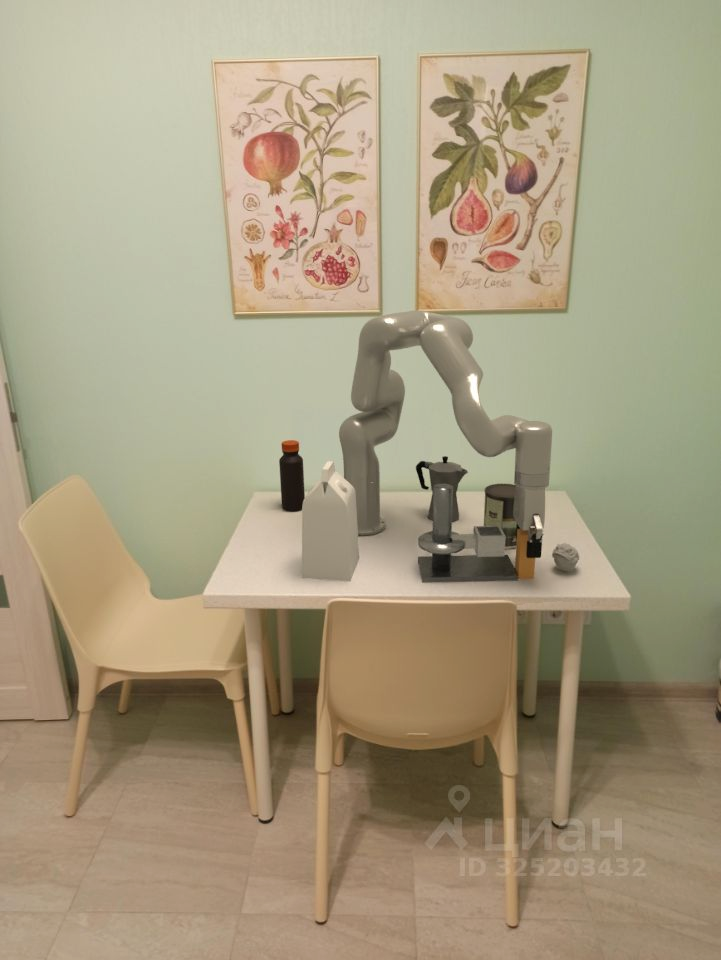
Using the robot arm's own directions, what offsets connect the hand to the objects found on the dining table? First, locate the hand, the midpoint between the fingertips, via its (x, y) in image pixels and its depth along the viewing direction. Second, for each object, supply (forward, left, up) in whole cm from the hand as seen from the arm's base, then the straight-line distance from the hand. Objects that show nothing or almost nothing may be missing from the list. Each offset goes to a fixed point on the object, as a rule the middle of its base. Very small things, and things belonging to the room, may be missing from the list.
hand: (528, 548), depth 156 cm
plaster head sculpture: (+10, +2, -7) cm, 12 cm away
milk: (-45, +6, -7) cm, 46 cm away
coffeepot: (-15, +36, -7) cm, 40 cm away
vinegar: (-57, +45, -7) cm, 73 cm away
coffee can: (-1, +19, -7) cm, 21 cm away
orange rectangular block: (0, 0, -7) cm, 7 cm away
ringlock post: (-13, +3, -7) cm, 15 cm away
